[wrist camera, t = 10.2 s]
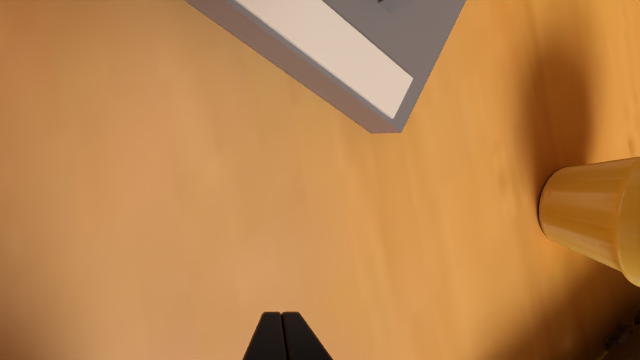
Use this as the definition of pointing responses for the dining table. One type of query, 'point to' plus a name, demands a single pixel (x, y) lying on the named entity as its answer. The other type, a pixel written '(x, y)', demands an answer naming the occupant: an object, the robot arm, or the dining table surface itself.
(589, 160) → the dining table surface
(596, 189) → the plant pot
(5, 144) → the dining table surface
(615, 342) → the muzzle brake
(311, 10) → the switch base
